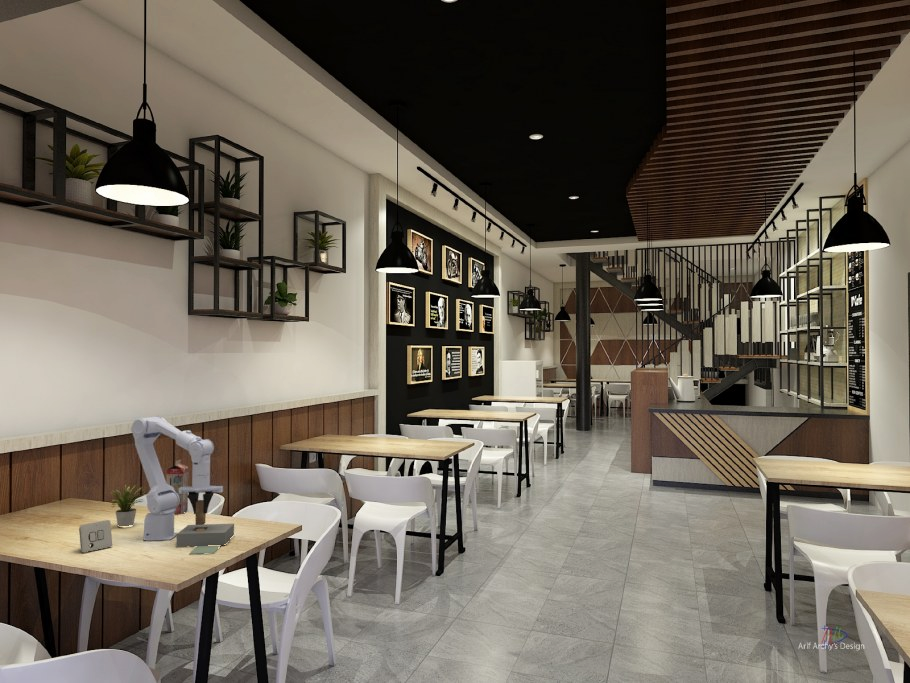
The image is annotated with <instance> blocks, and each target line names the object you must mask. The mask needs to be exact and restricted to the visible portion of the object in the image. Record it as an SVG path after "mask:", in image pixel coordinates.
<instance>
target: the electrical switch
mask: <svg viewBox="0 0 910 683" xmlns="http://www.w3.org/2000/svg"><path fill="white" fill-rule="evenodd" d="M78 530H79V541H80V542H79V543H80V544H79V545H80V552H81V553H82V552H87V551H92V552H94V551H93V550H97V551H99V550H98V549H101V550H104V549H103V548H106V549H108V548H107V547H110V548H112V547H113V537H112V536H113V535H112V526H111V520H110V519H105V520H100V521H94V522H89V523H83V524H80V525H79V528H78ZM111 546H112V547H111Z"/></svg>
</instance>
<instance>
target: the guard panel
mask: <svg viewBox="0 0 910 683" xmlns="http://www.w3.org/2000/svg"><path fill="white" fill-rule="evenodd" d="M197 529H205V530H197ZM196 530H197V531H196ZM176 533H177V535H176V543H175V544H176V546H175V547H176V548H188V547H187V546H208V545H224V544H226V543H227V542H228V541H229V540H230V538H231V537H232V536H233V535H234V536H235V523H211V524H207V523H205V524H203V525H195V524H188V525H186V526H185V527H183V529H181V530H180V531H179V532H176ZM230 541H231V540H230ZM230 541H229V542H230ZM229 542H228V543H229ZM228 543H227V544H228ZM227 544H226V545H227Z"/></svg>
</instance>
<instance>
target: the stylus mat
mask: <svg viewBox="0 0 910 683" xmlns="http://www.w3.org/2000/svg"><path fill="white" fill-rule="evenodd" d="M218 547H219V546H197V547H193V549H192V550H191V551H190V552H189V553H188V555H189V554H197V555H205V554H204V553H215V552H216V551H217V550H218ZM218 551H219V550H218ZM218 551H217V552H218ZM217 552H216V553H217ZM216 553H215V554H216Z"/></svg>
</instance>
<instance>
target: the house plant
mask: <svg viewBox="0 0 910 683" xmlns="http://www.w3.org/2000/svg"><path fill="white" fill-rule="evenodd" d="M136 485H137V484H135V485H133V487H132V488H131V489H130V487H131V486H128V487H127V484H125V485H124V494H123V493H122V492H121V490H120V489H115V490H112V491H109V493H110V494H111V495H113V496H114V497H115V498H116V499H112V500H111V502H114V503H111V507H112V508H115V506H117V507H118V508H120V509H117V510H115V516H116V517H115V518H116V521H117V522H116V523H117V526H118V525H119V526H129V525H133V524H134V523H135V520H136V515H137V514H136V513H137V509H136V508H133V506H135V504H137V503H143V502H145V499H143V498H142V497H144V496H147V494H148V493H147V494H144V493H143V494H140V493H141V492H142V490H141V489H143V488H144V486H142V487H139V488H138V489H137V490H135V492H134V493H133V494H132V495H131V493H132V492H133V490H134V489H135V488H136ZM144 490H145V491H146V489H144ZM115 491H116V492H117V493H116V492H115ZM137 494H139V495H137ZM140 498H141V499H140ZM133 526H134V525H133Z"/></svg>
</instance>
